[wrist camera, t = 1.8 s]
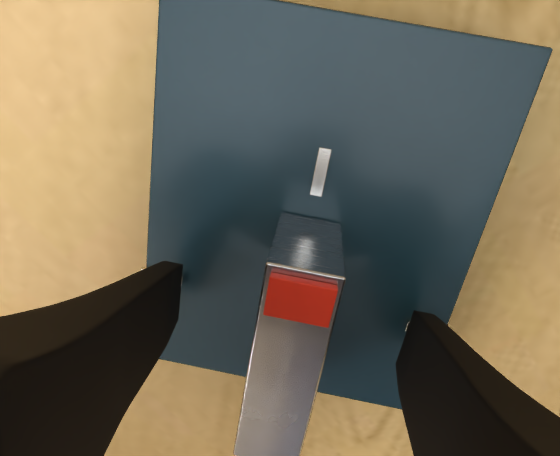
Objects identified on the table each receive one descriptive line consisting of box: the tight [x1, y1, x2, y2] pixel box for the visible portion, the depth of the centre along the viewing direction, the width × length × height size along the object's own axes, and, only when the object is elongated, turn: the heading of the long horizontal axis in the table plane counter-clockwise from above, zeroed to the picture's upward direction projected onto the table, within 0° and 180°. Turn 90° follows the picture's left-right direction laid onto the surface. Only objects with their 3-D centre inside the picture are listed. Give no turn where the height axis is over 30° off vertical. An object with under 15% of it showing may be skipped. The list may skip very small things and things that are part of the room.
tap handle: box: [233, 213, 346, 456], centre depth 11 cm, size 6×2×4 cm, turn 171°
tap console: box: [141, 0, 552, 409], centre depth 14 cm, size 14×10×3 cm
